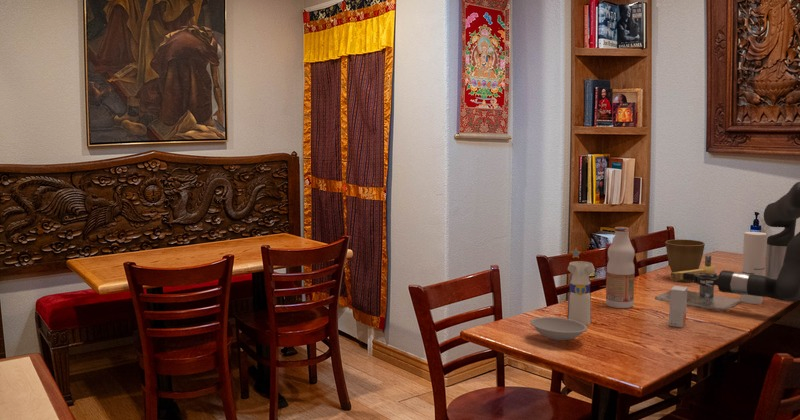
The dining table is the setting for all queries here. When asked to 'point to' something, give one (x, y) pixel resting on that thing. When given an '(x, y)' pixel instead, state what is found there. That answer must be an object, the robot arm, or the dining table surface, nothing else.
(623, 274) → the fruit juice
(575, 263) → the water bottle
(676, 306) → the skincare box
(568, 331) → the dish
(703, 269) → the lever handle
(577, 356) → the dining table surface
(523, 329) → the dining table surface
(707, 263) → the square base plate stand
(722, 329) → the dining table surface
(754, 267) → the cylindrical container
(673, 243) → the plant pot
